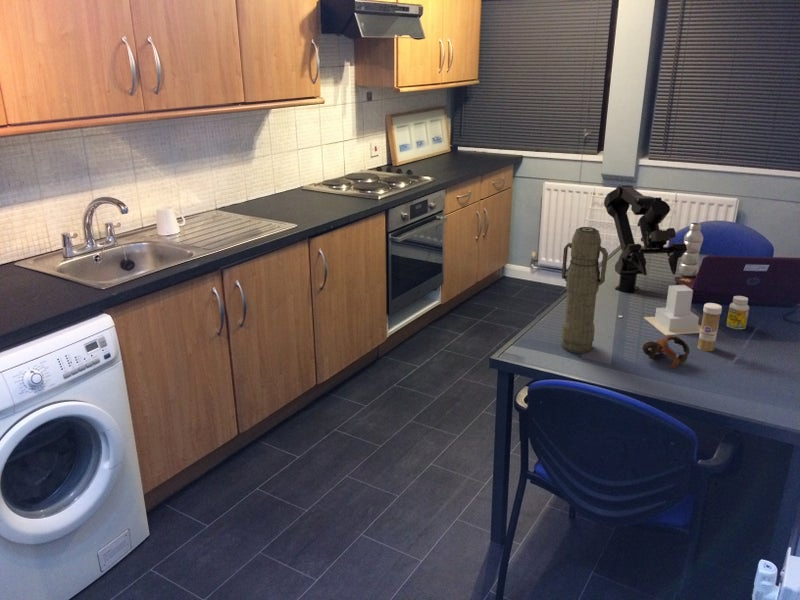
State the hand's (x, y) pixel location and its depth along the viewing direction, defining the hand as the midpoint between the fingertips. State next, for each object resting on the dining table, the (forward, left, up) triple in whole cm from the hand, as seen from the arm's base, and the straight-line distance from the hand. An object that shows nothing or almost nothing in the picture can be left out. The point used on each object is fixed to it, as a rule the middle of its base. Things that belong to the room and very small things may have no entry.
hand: (660, 274), depth 203 cm
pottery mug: (+32, +13, -14) cm, 37 cm away
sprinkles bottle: (+18, +20, -14) cm, 30 cm away
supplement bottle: (-4, +23, -14) cm, 27 cm away
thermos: (+38, -10, -14) cm, 41 cm away
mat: (+6, +8, -14) cm, 17 cm away
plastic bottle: (-46, -3, -14) cm, 49 cm away
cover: (+6, +8, -13) cm, 16 cm away
